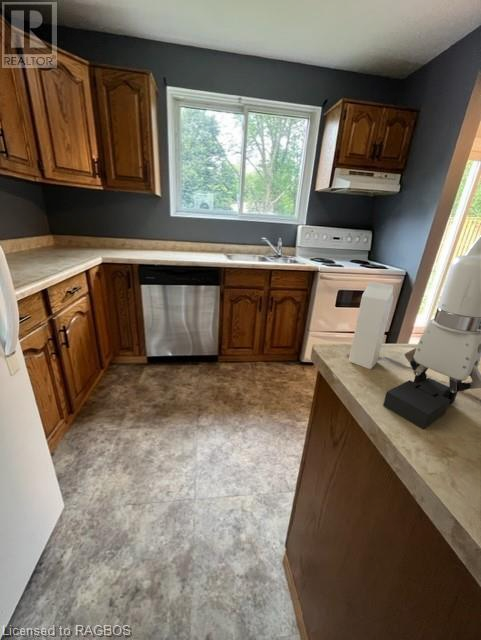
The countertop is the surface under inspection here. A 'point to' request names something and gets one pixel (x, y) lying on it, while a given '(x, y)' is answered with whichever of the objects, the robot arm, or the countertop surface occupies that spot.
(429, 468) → the countertop surface
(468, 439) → the countertop surface
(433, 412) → the black notched block
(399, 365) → the countertop surface
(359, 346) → the milk
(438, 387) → the black rectangular block
